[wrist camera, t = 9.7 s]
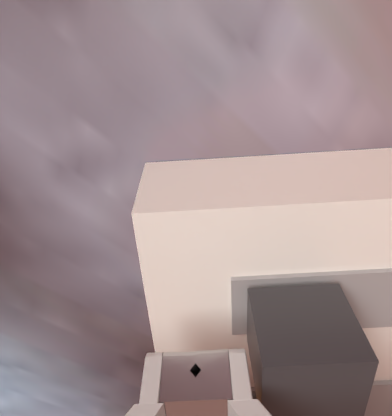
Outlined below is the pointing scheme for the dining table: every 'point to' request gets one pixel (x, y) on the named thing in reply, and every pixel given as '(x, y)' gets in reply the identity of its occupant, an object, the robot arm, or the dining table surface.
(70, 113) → the dining table surface
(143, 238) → the switch panel
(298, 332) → the switch tab
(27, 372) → the dining table surface
